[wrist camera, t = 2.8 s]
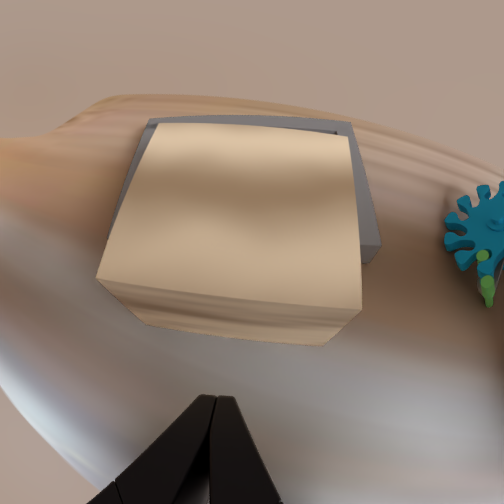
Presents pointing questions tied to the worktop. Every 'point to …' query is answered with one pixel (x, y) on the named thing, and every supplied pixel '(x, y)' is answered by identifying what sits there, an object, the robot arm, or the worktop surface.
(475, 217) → the gear
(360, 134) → the worktop surface
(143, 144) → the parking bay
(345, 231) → the oak block
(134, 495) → the robot arm
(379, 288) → the worktop surface
